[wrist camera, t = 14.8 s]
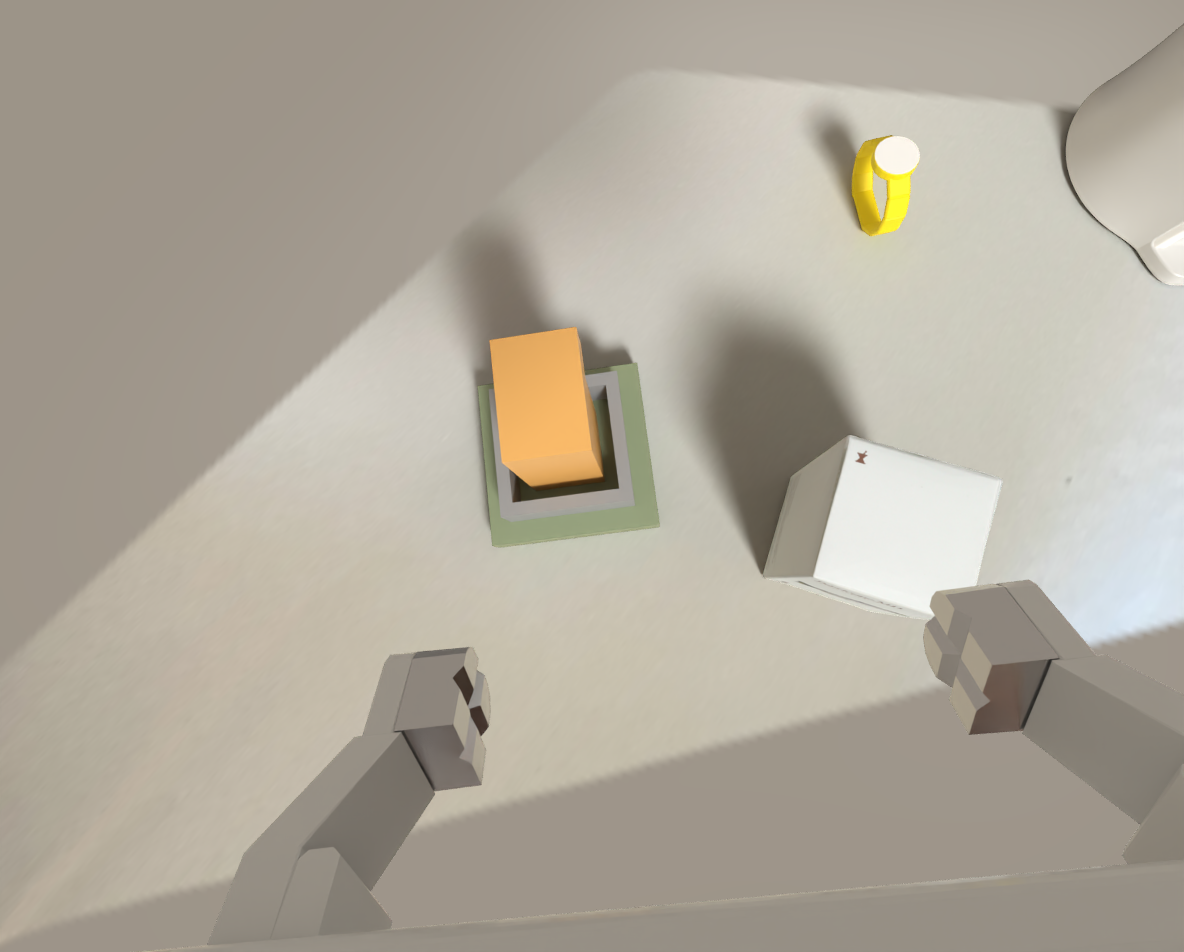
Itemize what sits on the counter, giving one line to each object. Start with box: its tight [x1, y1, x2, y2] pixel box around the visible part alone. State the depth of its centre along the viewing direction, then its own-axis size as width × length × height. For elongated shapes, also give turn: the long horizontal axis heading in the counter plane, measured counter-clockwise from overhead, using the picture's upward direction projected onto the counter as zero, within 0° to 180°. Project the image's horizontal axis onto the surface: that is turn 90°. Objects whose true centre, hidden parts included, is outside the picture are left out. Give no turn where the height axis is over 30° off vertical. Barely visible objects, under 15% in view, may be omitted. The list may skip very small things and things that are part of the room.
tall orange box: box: [490, 327, 605, 491], centre depth 37 cm, size 7×5×10 cm
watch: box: [852, 135, 920, 236], centre depth 43 cm, size 6×3×6 cm, turn 10°
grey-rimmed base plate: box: [478, 363, 660, 548], centre depth 42 cm, size 11×11×5 cm
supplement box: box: [763, 435, 1002, 620], centre depth 36 cm, size 7×7×13 cm
